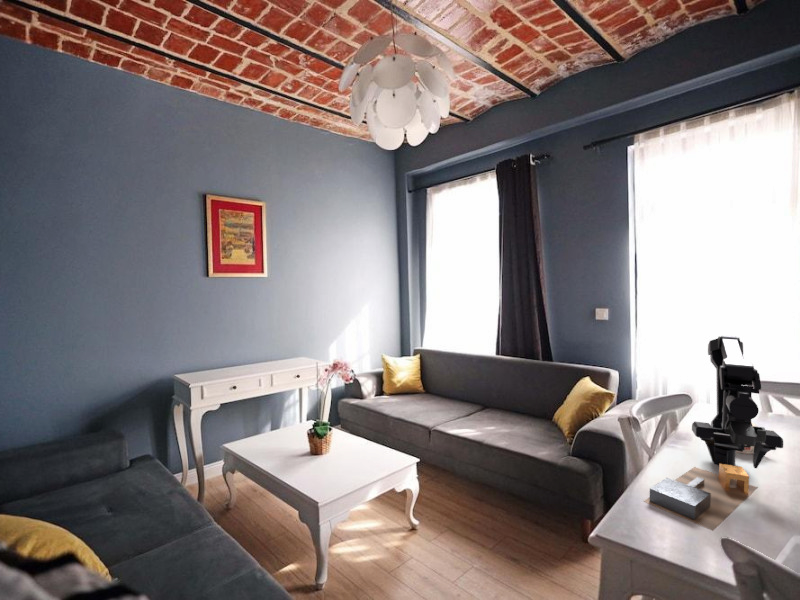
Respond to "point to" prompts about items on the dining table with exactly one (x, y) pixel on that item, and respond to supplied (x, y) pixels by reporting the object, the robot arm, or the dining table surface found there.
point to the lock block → (733, 477)
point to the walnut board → (713, 497)
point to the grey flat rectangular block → (681, 497)
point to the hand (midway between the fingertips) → (733, 464)
